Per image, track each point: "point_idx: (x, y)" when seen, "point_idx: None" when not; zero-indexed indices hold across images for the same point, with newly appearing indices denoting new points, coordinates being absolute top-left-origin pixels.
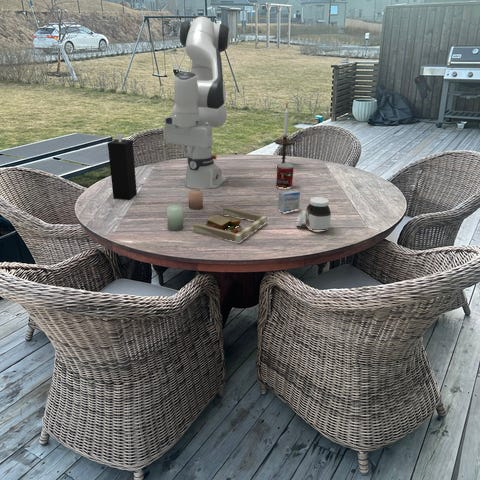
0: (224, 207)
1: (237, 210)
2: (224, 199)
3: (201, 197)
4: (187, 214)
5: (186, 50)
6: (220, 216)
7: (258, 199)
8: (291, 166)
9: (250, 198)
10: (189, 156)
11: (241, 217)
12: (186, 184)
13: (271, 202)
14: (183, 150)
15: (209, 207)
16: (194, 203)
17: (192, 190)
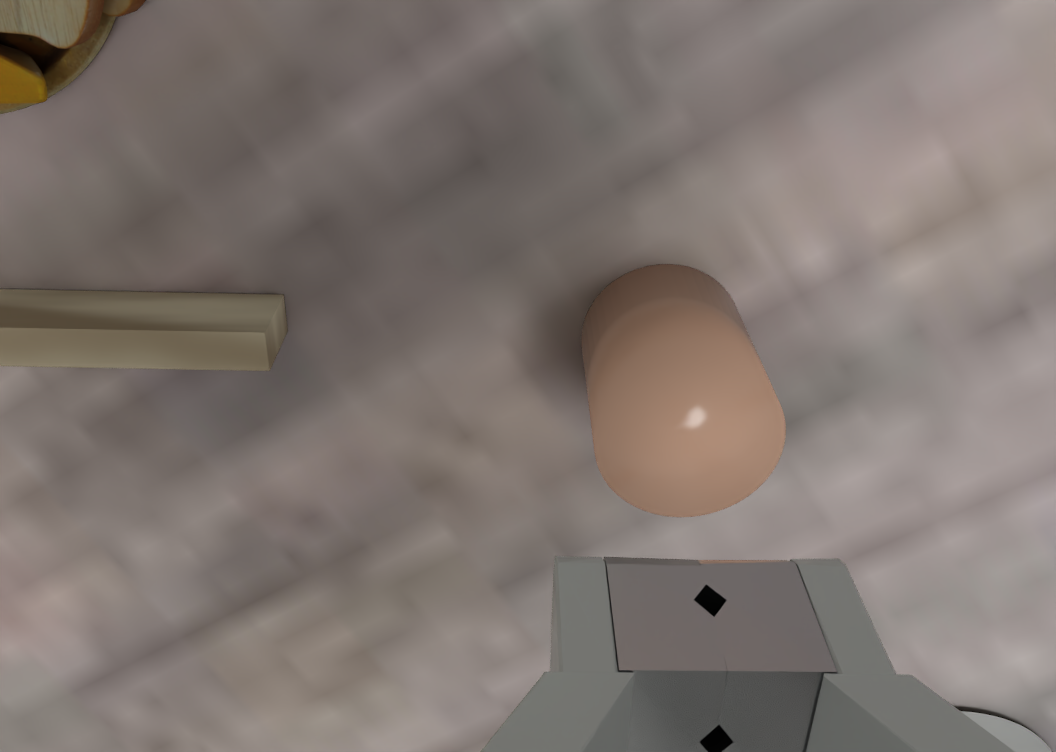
0: (256, 360)
1: (76, 354)
2: (522, 630)
3: (589, 404)
4: (633, 109)
5: None
6: (18, 19)
7: (261, 748)
8: None
9: (334, 738)
10: (591, 571)
11: (24, 298)
12: (1037, 745)
13: (125, 741)
14: (937, 730)
15: (530, 405)
16: (642, 304)
17: (751, 460)
